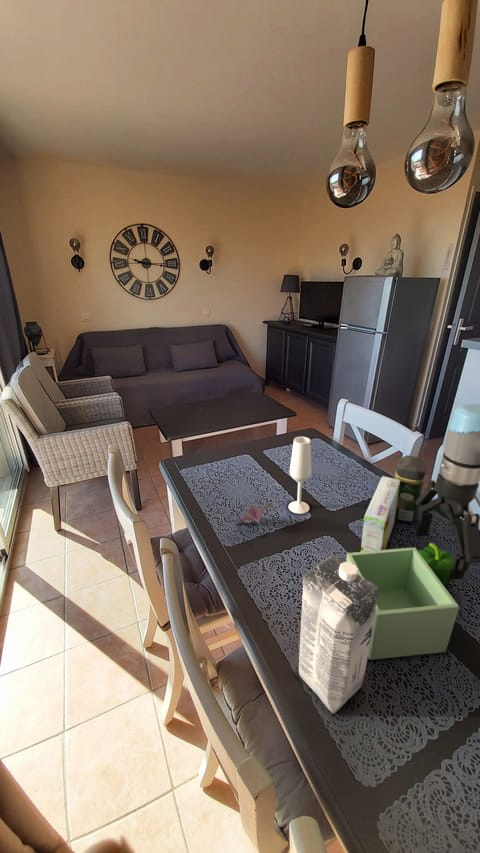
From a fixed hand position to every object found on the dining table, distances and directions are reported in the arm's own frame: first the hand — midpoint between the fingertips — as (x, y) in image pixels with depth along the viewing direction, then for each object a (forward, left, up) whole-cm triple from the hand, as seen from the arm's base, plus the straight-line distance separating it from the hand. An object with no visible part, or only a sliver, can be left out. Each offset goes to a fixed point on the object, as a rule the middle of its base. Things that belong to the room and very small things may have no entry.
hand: (437, 555), depth 84 cm
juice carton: (+32, +20, -9) cm, 39 cm away
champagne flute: (+25, -33, -9) cm, 42 cm away
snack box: (+7, -15, -9) cm, 18 cm away
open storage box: (+15, +9, -8) cm, 19 cm away
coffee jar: (-6, -26, -9) cm, 28 cm away
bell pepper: (0, 0, -9) cm, 9 cm away
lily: (+40, -25, -9) cm, 48 cm away
